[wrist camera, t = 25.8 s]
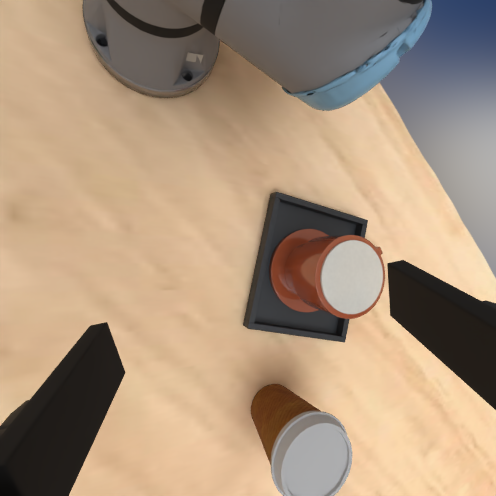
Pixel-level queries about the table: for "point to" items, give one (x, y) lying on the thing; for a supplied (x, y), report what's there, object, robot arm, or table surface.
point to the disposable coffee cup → (301, 443)
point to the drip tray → (261, 294)
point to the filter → (327, 273)
